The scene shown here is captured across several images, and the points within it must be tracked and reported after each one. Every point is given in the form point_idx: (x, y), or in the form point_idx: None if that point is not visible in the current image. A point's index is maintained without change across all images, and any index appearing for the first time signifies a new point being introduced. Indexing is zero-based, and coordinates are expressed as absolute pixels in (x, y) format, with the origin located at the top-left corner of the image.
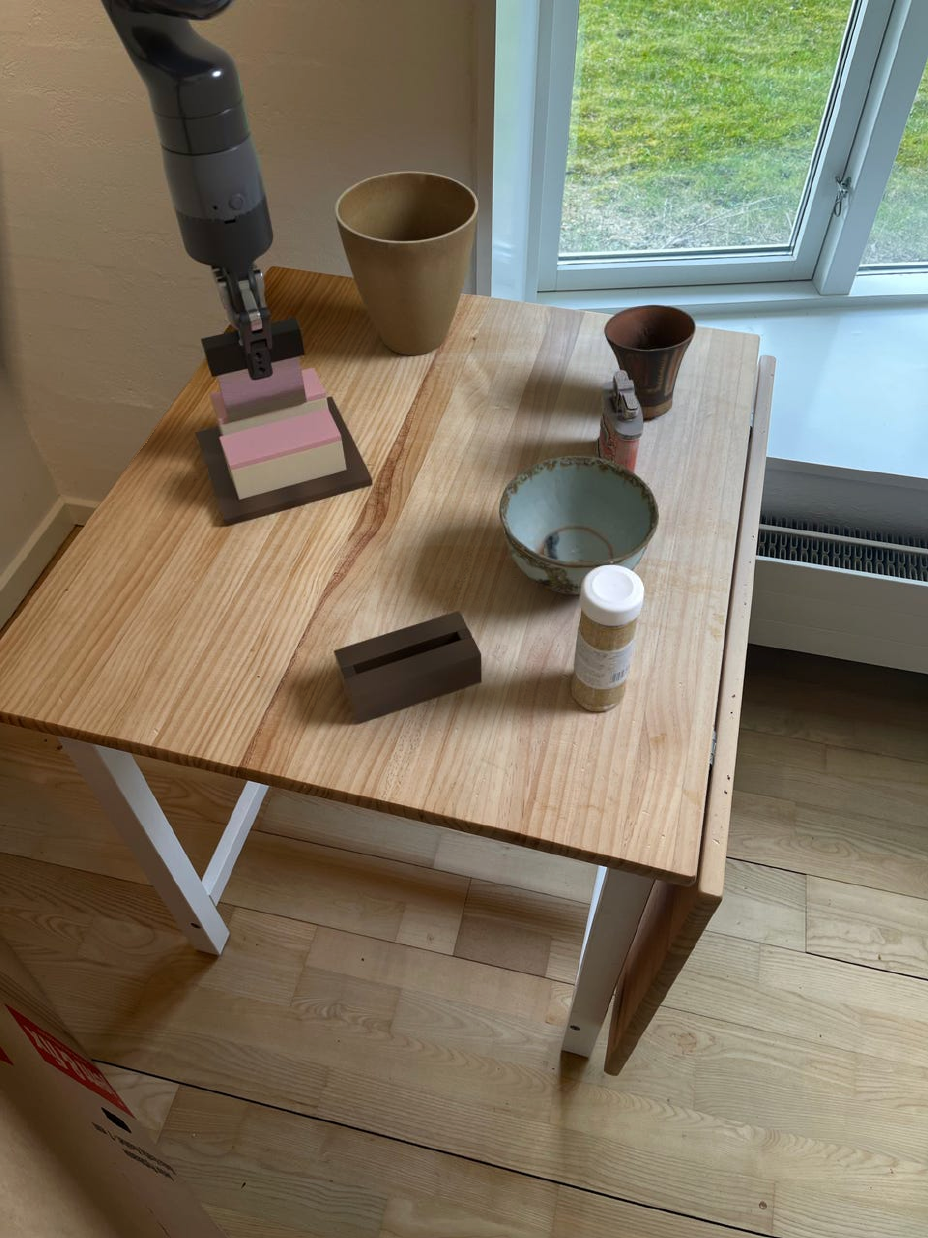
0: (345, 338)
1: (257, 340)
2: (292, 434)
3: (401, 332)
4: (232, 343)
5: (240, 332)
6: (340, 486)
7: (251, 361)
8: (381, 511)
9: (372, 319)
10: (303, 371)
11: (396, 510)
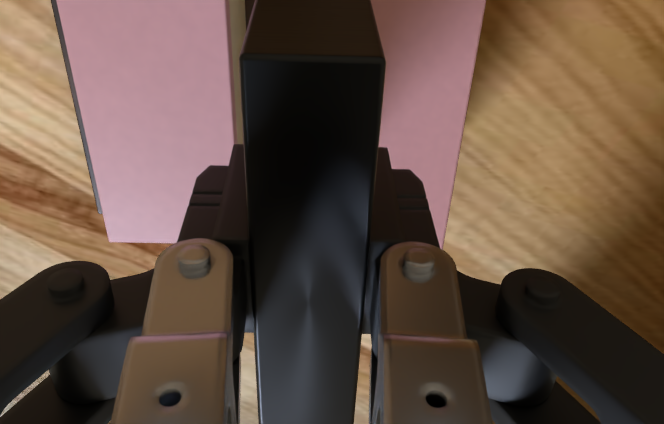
0: (636, 291)
1: (58, 372)
2: (150, 130)
3: (492, 421)
4: (250, 210)
5: (145, 328)
6: (83, 145)
7: (189, 217)
8: (12, 191)
9: (575, 394)
10: (437, 233)
11: (10, 217)
